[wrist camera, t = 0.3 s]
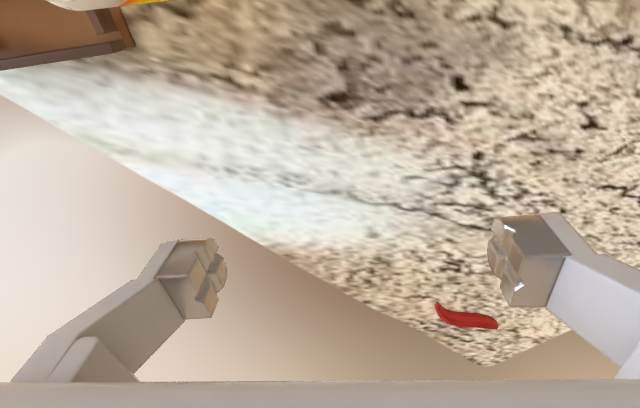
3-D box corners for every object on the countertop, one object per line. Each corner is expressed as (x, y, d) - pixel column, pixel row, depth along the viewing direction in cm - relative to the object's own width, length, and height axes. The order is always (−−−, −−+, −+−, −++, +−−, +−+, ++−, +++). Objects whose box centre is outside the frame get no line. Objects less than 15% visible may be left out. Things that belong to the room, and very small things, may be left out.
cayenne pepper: (426, 309, 50) (428, 320, 48) (448, 293, 47) (451, 304, 46) (480, 337, 53) (485, 348, 51) (504, 324, 50) (509, 335, 49)
